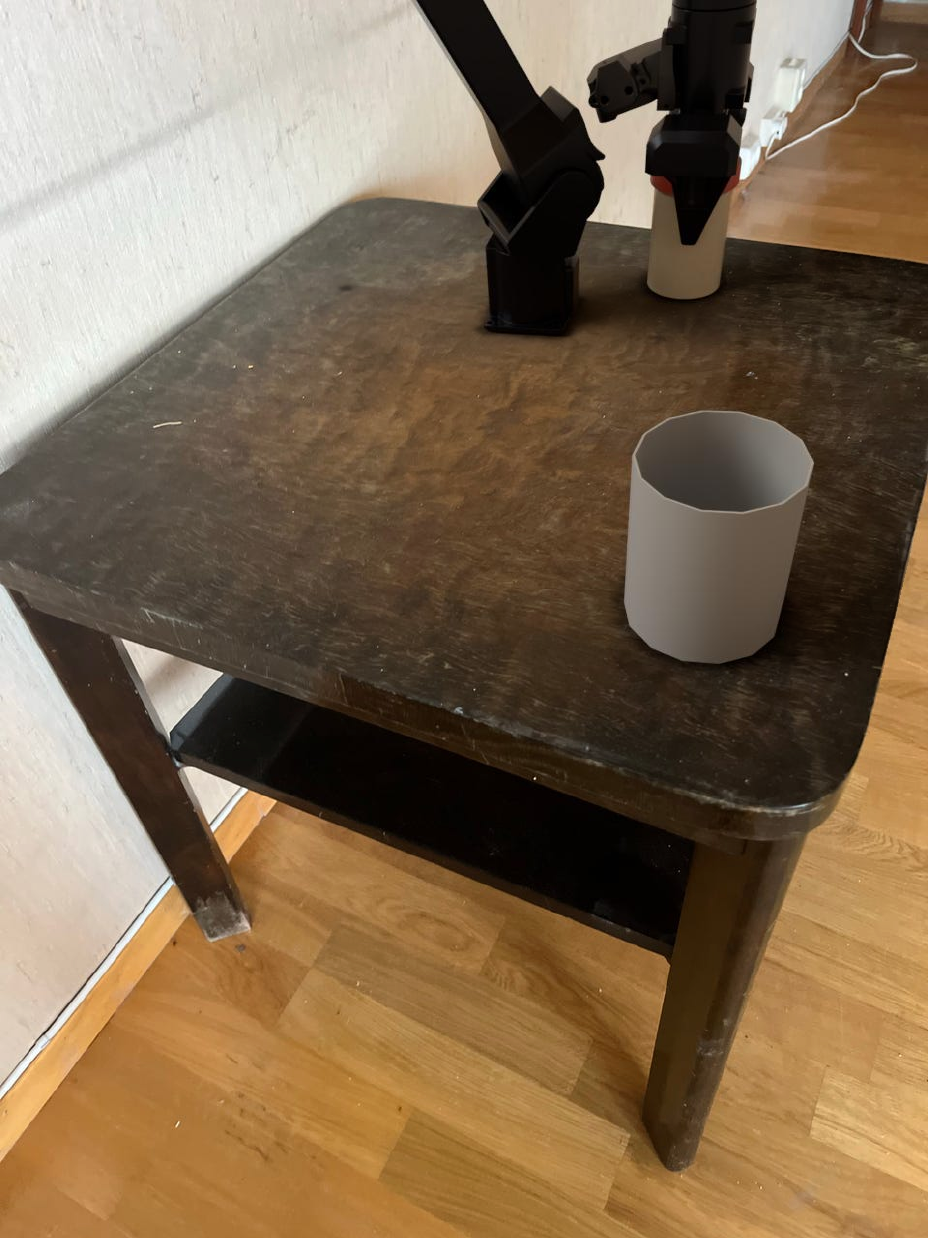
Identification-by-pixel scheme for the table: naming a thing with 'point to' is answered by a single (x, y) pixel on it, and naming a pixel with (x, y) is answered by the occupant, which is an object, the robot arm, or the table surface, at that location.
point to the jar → (686, 251)
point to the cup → (713, 533)
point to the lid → (666, 186)
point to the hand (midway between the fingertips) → (692, 227)
